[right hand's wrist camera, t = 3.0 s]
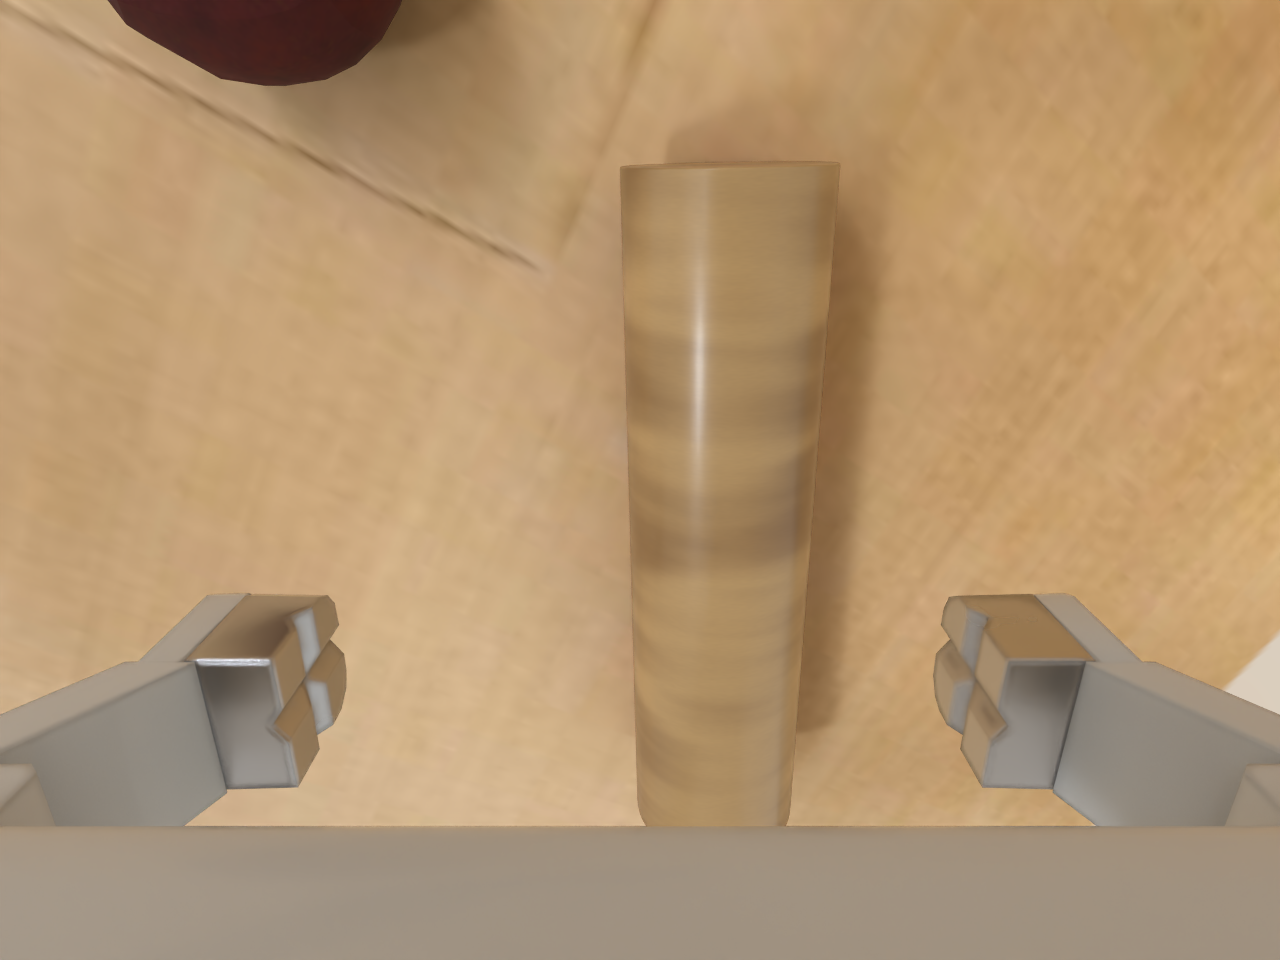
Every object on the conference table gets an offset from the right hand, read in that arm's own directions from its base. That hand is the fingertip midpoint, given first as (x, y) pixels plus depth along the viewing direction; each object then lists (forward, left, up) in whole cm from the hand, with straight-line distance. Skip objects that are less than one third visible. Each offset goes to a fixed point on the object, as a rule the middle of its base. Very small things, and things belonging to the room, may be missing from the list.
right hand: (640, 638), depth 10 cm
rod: (+6, +3, -18) cm, 19 cm away
